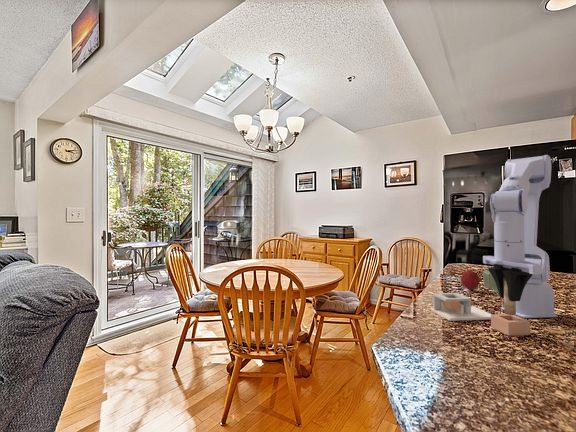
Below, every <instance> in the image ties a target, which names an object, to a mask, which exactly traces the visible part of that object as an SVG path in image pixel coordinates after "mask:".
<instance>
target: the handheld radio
mask: <svg viewBox="0 0 576 432" xmlns="http://www.w3.org/2000/svg"><path fill="white" fill-rule="evenodd" d="M482 275H483V277H482V278H483V286H484V287H485V286H486V287H485V288H487V287H488V288H487V289H489V288H490V289H489V290H491V289H492V290H491V291H493V290H494V291H493V292H495V291H496V292H495V293H497V292H498V289H497V285H496V283H495V280H494V278H493V276H492V275H491V273H490V272H489V270H488V269H484V270H483V272H482ZM497 294H499V292H498V293H497Z"/></svg>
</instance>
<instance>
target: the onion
mask: <svg viewBox="0 0 576 432" xmlns="http://www.w3.org/2000/svg"><path fill="white" fill-rule="evenodd" d="M460 281H461V284H462V285H463V287H464V288H466V289H467V290H468V291H473V290H474V289H476V288H477V287H479V285H480V282H481V279H480V277H479V275H478V274H477V273H476V272H475V271H473V270H472V268H470V267H469V268H468V269H467V271H464V272H463V274H462V275H461V276H460Z"/></svg>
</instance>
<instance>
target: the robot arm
mask: <svg viewBox="0 0 576 432" xmlns="http://www.w3.org/2000/svg"><path fill="white" fill-rule="evenodd" d="M504 175H505V179H504V180H503V182H502V184H501V186H500V188H499V189H498V191H495V192H494V193H492V194H491V195H490V199H489V206H490V213H491V221H492V222H493V237H494V239H493V240H494V241H493V243H494V244H493V247H494V248H493V249H494V253H493V254H494V255H483V256H482V263H483V264H484V265H492V266H493V267H488V268H487V270H489V272H490V273H491V275H492V276H493V278H494V280H495V283H496V285H497V289H498V292H499V293H498V295H499V297H500V298H501V299H504V281H503V277H505V279H506V282H507V287H508V297H509V301H516V315H515V316H518V317H520V318H523V319H533V318H534V319H537V318H538V319H539V318H557V317H558V315H557V314H555V292H554V289H553V287H552V286H551V284H550V283H548V281H549V280H550V272H551V270H550V268H551V267H550V257H549V255H548V253H547V252H546V250H543V249H542V248H540V247H538V246H537V240H538V227H539V226H538V224H539V223H538V221H539V206H540V205H539V203H540V197H541V194H542V192H543V191H544V190H546V189H548V188H550V184H551V181H552V180H551V178H552V160H551V156H550V155H549V154H544V155H541V156H540V155H538V156H532V157H523V158H515V159H514V158H513V159H510V158H509V159H507V160H506V162H505V165H504ZM500 308H501V309H500V310H503V311H504V306H503V307H502V306H501V307H500Z"/></svg>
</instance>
